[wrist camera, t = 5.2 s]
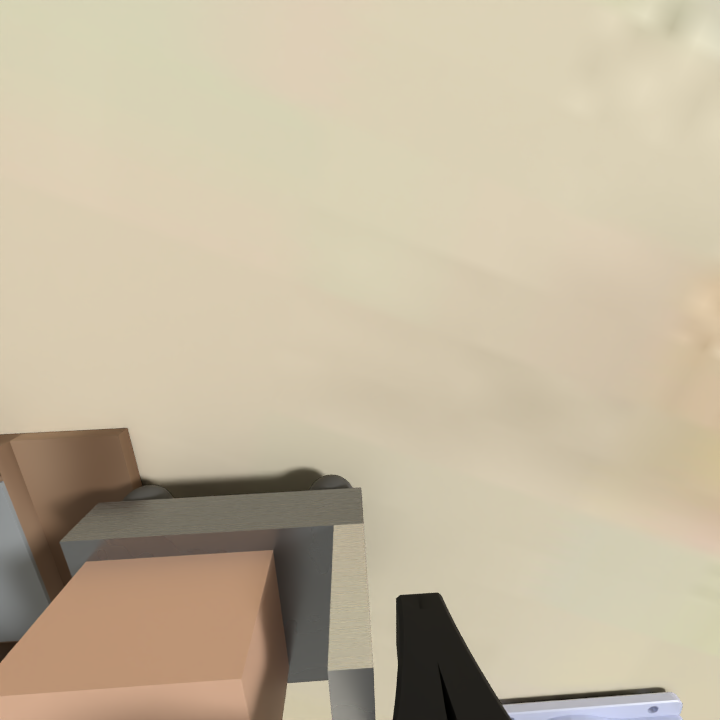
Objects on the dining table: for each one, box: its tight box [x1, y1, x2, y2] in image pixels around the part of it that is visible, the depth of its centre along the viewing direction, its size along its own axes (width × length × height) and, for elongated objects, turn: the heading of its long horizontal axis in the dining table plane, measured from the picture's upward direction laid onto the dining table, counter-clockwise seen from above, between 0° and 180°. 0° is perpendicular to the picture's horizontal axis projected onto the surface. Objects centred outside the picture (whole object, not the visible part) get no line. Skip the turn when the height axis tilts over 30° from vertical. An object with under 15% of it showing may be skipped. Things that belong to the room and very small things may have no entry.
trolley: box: [0, 475, 375, 720], centre depth 10 cm, size 8×6×6 cm
